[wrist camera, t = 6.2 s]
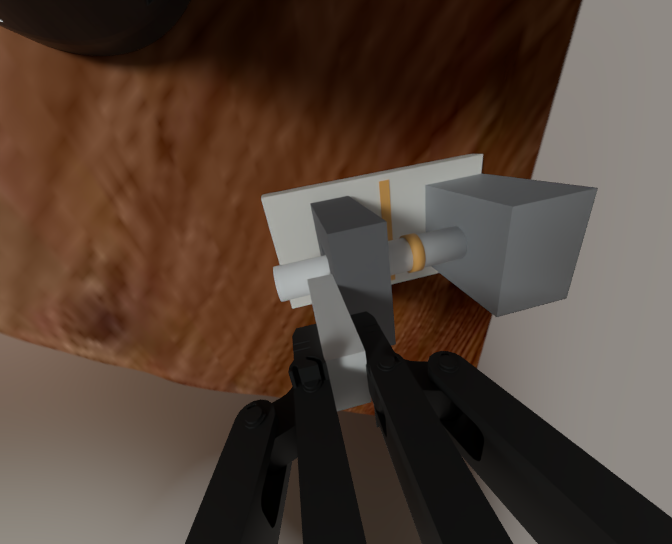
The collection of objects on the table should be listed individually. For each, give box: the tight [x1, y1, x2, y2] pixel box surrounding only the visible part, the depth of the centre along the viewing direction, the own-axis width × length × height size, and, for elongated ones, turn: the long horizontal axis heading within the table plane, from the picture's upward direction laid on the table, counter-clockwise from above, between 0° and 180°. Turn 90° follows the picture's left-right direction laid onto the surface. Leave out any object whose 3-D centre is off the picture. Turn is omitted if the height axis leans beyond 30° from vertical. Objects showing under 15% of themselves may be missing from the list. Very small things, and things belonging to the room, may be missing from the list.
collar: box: [310, 196, 396, 345], centre depth 18 cm, size 3×8×8 cm, turn 9°
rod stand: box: [261, 154, 597, 317], centre depth 19 cm, size 18×10×10 cm, turn 99°
